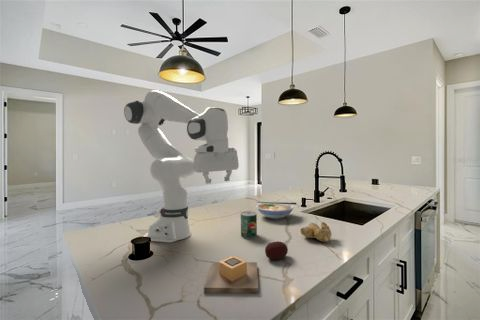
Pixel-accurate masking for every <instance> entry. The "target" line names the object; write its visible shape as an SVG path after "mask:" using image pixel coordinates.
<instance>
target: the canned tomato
mask: <svg viewBox="0 0 480 320" xmlns="http://www.w3.org/2000/svg"><path fill="white" fill-rule="evenodd" d="M257 217H258V216H257V212H255V211H249V210H247V211H242V212H240V237H241V238H243V239H249V240H250V239H255V238H257V236H258V235H257V233H258V229H257V228H258V222H257V219H258V218H257Z"/></svg>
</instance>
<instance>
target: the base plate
mask: <svg viewBox="0 0 480 320" xmlns="http://www.w3.org/2000/svg"><path fill="white" fill-rule="evenodd" d="M219 262H220V261H212V263H211V266H210V268H209V272H208V275H207V277H206V280H205V284H204V286H203V292H204V293H210V294H211V293H212V294H217V293H219V294H259V279H258V278H259V276H258V262H251V261H250V262H249V261H246V262H247V274H246V275H244V276H242V277H240V278H238V279H236V280H234V281H230V280H229V279H227V278H226V277H224V276H222V275H221V274H219ZM226 263H227V264H228V265H230V266H234V265H236V264H239V263H240V262H239V261H237V260H235V259H231V260H229V261H226Z"/></svg>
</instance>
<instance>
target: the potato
mask: <svg viewBox="0 0 480 320" xmlns="http://www.w3.org/2000/svg"><path fill="white" fill-rule="evenodd" d="M264 252H265V256H266V258H268V259H270V260H271V261H272V260H274V261H277V260H281V259H283V258H285V256H287V254H288V252H289V248H288V246H287V245H286V244H285V242H284V241H283V242H282V241H278V240H277V241H272V242H269V243H268V244H267V245H266V246H265V249H264Z"/></svg>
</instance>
